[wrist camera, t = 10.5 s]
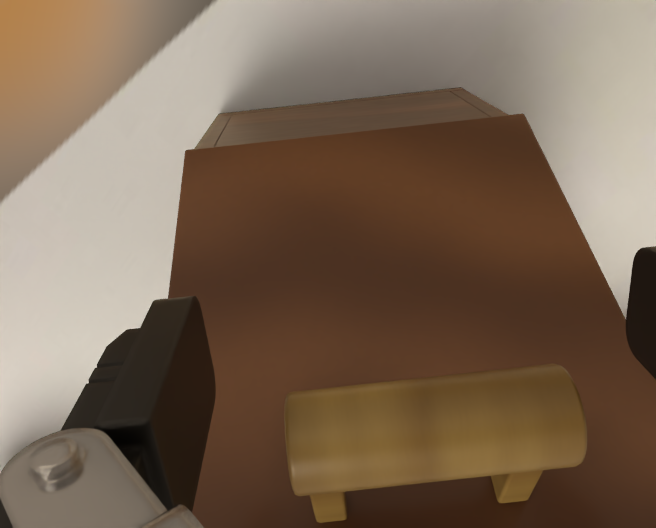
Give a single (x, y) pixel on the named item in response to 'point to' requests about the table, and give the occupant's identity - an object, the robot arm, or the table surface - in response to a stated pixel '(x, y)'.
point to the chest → (345, 117)
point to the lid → (409, 337)
